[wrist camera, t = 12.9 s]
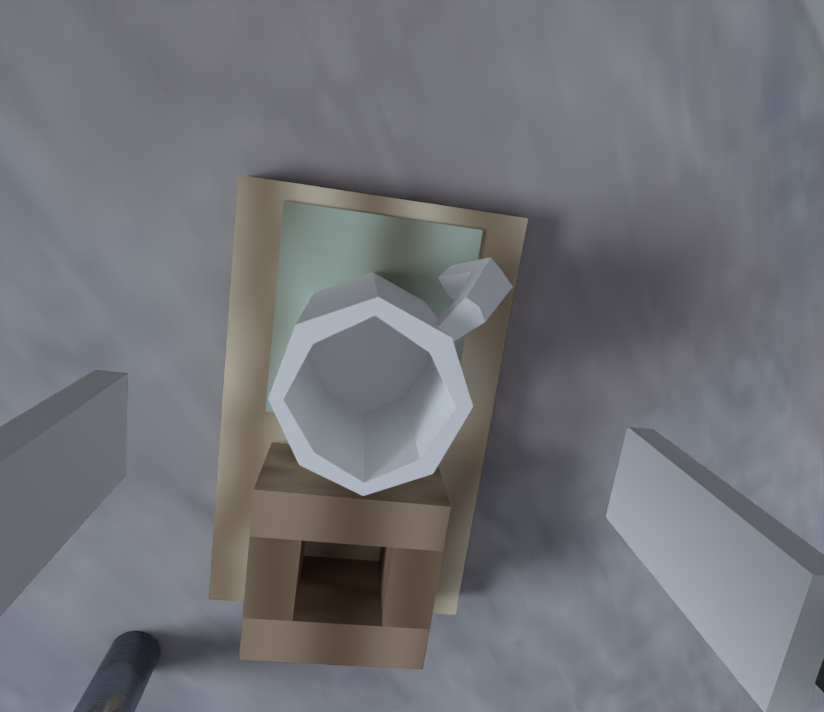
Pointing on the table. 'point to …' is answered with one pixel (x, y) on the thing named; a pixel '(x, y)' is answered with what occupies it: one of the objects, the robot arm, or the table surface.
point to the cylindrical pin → (121, 675)
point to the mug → (380, 376)
